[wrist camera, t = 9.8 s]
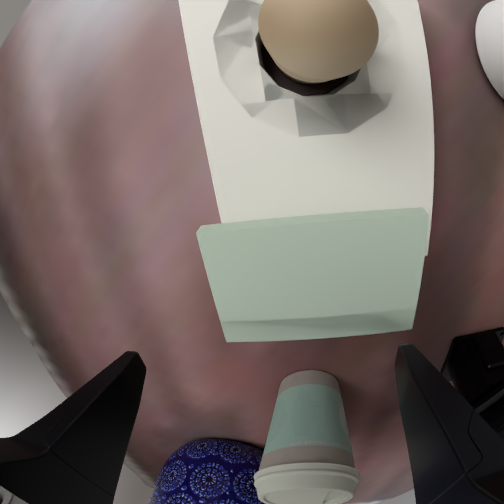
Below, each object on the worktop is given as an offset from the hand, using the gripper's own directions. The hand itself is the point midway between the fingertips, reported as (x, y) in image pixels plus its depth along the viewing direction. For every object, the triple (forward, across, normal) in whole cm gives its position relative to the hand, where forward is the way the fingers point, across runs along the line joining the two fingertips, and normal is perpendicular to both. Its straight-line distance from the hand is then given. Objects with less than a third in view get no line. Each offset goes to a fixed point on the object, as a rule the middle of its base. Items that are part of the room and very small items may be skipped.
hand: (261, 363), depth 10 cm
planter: (+12, +11, +36) cm, 40 cm away
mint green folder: (+12, -2, +1) cm, 12 cm away
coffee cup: (+12, -1, +18) cm, 22 cm away
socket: (+12, -3, -6) cm, 14 cm away
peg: (+12, -3, -10) cm, 16 cm away
